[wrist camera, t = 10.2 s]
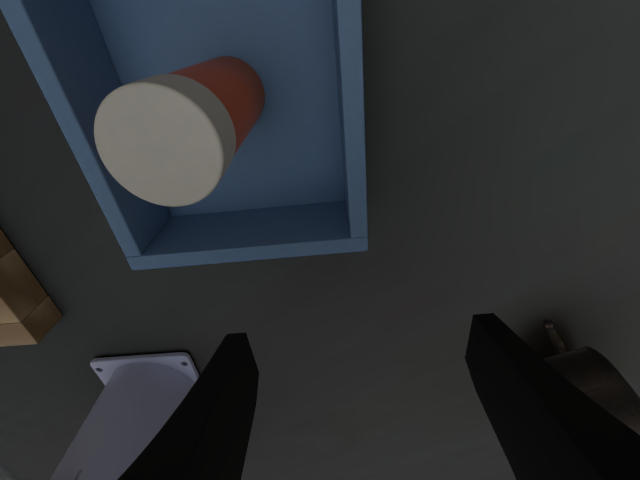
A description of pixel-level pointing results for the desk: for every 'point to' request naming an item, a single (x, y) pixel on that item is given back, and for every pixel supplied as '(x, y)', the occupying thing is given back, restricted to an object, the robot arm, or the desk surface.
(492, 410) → the robot arm
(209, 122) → the pill bottle
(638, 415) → the alarm clock
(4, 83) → the desk surface
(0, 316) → the pen rack
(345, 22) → the bin
